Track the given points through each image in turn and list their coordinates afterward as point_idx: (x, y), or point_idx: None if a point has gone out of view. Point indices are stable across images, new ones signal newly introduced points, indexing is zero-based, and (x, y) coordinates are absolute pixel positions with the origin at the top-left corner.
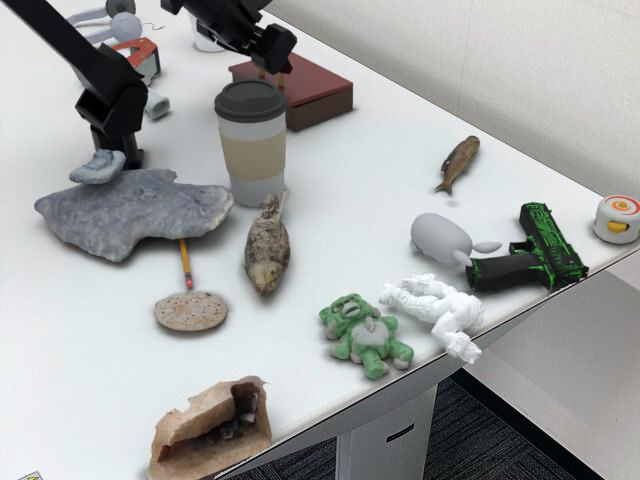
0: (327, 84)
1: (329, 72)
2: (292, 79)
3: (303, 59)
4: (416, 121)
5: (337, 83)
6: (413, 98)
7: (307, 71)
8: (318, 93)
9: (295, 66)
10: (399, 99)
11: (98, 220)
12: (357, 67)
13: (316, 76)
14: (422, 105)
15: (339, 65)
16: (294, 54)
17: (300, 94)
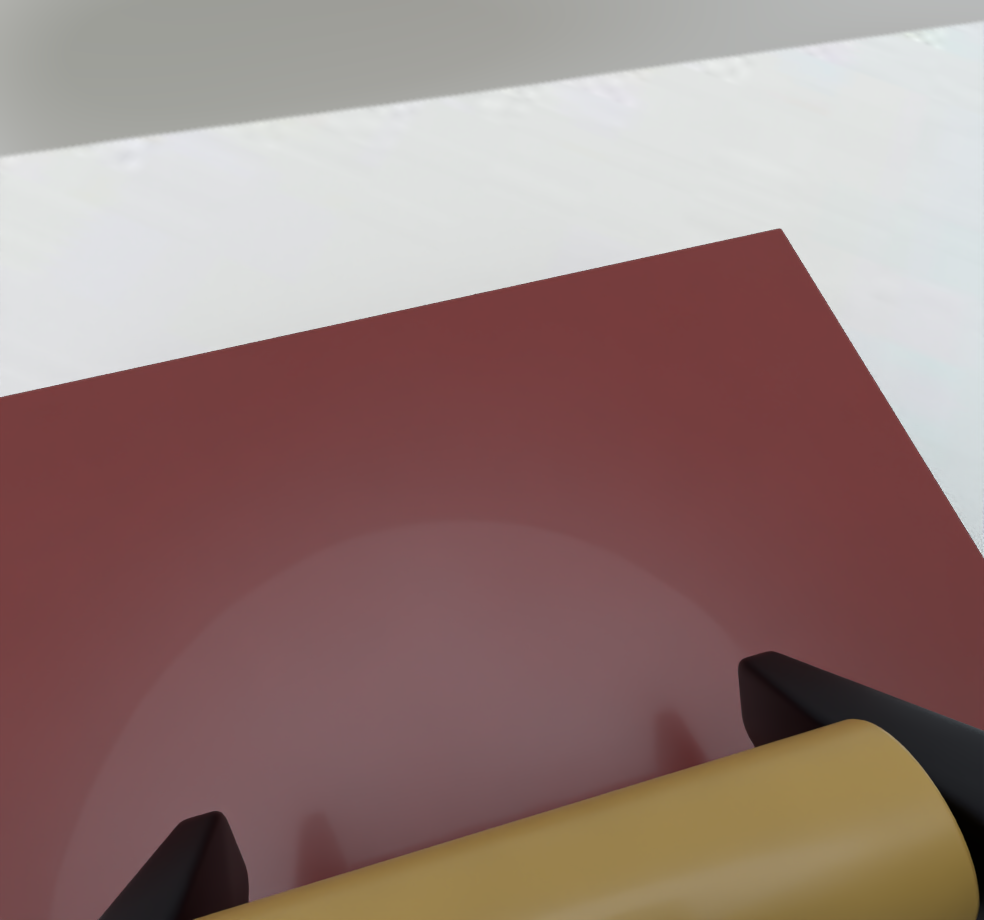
0: (779, 396)
1: (541, 299)
2: (583, 642)
3: (193, 379)
4: (927, 150)
5: (775, 324)
6: (678, 73)
7: (454, 442)
8: (961, 535)
9: (301, 497)
10: (666, 121)
11: None
12: (211, 138)
13: (589, 415)
14: (764, 71)
15: (126, 199)
16: (49, 406)
17: (974, 710)
